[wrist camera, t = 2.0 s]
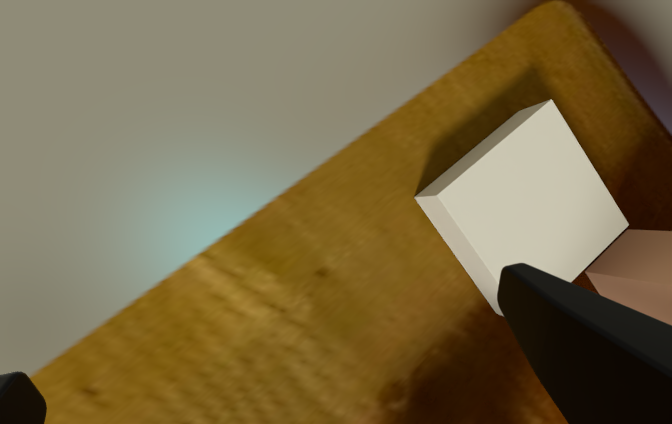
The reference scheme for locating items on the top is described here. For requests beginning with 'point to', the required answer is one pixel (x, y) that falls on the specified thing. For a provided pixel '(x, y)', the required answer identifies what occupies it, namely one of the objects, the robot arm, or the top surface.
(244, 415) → the top surface
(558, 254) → the block
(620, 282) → the terracotta block
